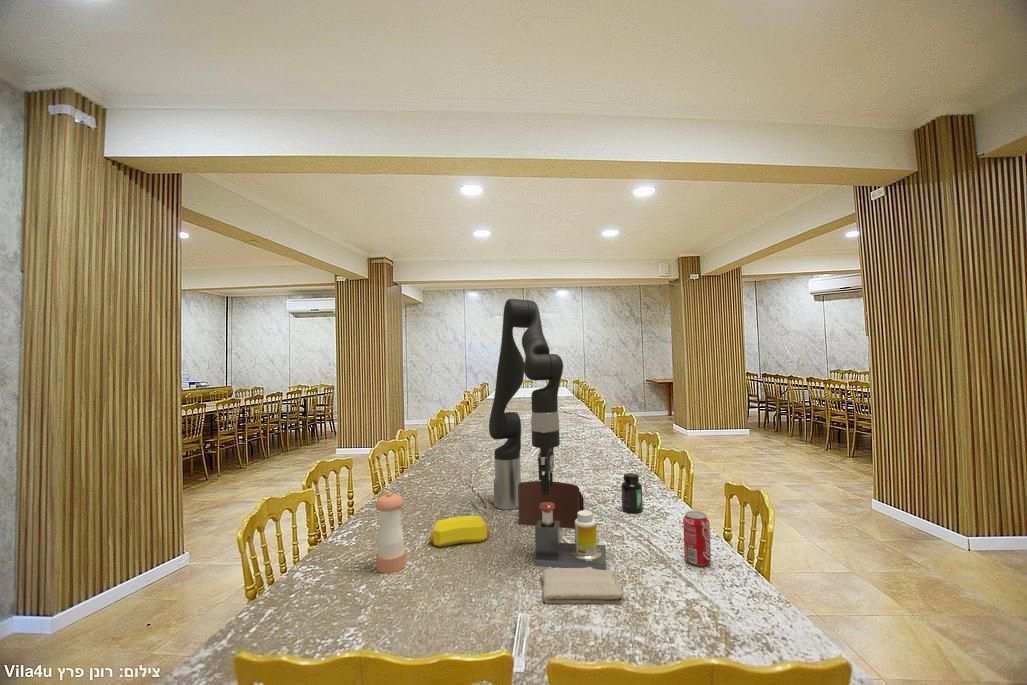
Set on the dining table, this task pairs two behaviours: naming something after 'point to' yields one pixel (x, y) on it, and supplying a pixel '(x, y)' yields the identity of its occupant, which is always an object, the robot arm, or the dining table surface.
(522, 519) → the letter holder
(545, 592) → the washcloth
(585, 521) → the supplement bottle
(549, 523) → the pin
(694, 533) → the beverage can
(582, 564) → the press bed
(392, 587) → the dining table surface
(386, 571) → the pepper shaker
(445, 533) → the yellow sponge block
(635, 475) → the supplement bottle
